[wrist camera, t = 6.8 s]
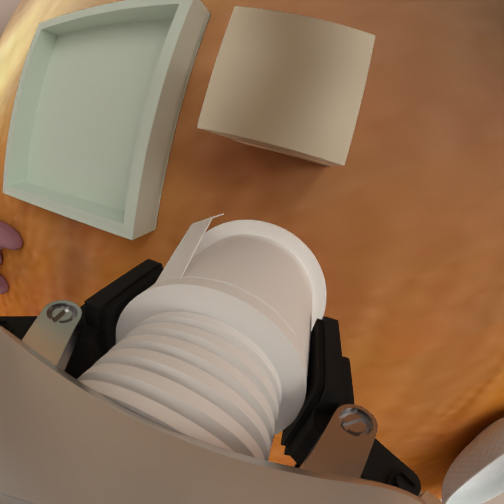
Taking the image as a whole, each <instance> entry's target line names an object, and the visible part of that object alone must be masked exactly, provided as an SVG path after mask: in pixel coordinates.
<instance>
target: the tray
mask: <svg viewBox="0 0 504 504" xmlns="http://www.w3.org/2000/svg"><path fill="white" fill-rule="evenodd" d="M210 15H211V14H210V12H209V11H208V9H207V8H206V7H205V5H204V4H203V3H202V1H201V0H125V1H119V2H114V3H109V4H104V5H99V6H95V7H91V8H87V9H83V10H79V11H76V12H72V13H69V14H65V15H62V16H59V17H56V18H53V19H50V20H47V21H44V22H42V23H39V25H38V28H37V30H36V33H35V35H34V38H33V41H32V43H31V46H30V49H29V52H28V55H27V58H26V61H25V64H24V67H23V71H22V74H21V78H20V81H19V85H18V89H17V93H16V97H15V101H14V106H13V111H12V116H11V121H10V127H9V133H8V140H7V147H6V156H5V166H4V179H3V193H5V194H7V195H10V196H12V197H15V198H17V199H20V200H23V201H25V202H28V203H30V204H33V205H36V206H38V207H41V208H44V209H46V210H49V211H52V212H54V213H57V214H60V215H63V216H65V217H68V218H71V219H73V220H76V221H79V222H82V223H85V224H87V225H90V226H93V227H96V228H98V229H101V230H104V231H107V232H110V233H113V234H116V235H118V236H121V237H124V238H127V239H130V240H134V239H136V238H138V237H140V236H143V235H145V234H147V233H149V232H151V231H153V230H155V229H156V224H157V217H158V211H159V206H160V200H161V194H162V189H163V184H164V179H165V174H166V169H167V164H168V159H169V155H170V150H171V146H172V141H173V137H174V133H175V129H176V125H177V121H178V117H179V113H180V109H181V106H182V102H183V98H184V95H185V91H186V88H187V84H188V81H189V77H190V74H191V71H192V68H193V64H194V61H195V58H196V55H197V52H198V49H199V46H200V43H201V40H202V37H203V34H204V32H205V29H206V26H207V23H208V21H209V18H210Z"/></svg>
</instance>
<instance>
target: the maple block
mask: <svg viewBox="0 0 504 504" xmlns="http://www.w3.org/2000/svg"><path fill="white" fill-rule="evenodd" d="M374 41H375V35H372V34H370V33H367V32H364V31H361V30H357V29H354V28H351V27H348V26H344V25H341V24H337V23H333V22H329V21H326V20H321V19H317V18H313V17H308V16H303V15H298V14H293V13H287V12H281V11H275V10H268V9H260V8H251V7H240V6H235V7H234V10H233V13H232V15H231V18H230V21H229V24H228V26H227V29H226V32H225V35H224V38H223V41H222V44H221V47H220V50H219V53H218V56H217V59H216V62H215V65H214V69H213V72H212V75H211V78H210V82H209V85H208V88H207V92H206V95H205V99H204V102H203V106H202V110H201V113H200V117H199V121H198V125H197V128H199V129H202V130H205V131H209V132H212V133H214V134H217V135H220V136H223V137H226V138H229V139H232V140H235V141H237V142H240V143H243V144H246V145H250V146H254V147H258V148H262V149H266V150H270V151H274V152H277V153H281V154H285V155H288V156H292V157H295V158H299V159H302V160H306V161H309V162H312V163H316V164H319V165H322V166H325V167H332V166H344V165H345V162H346V158H347V155H348V151H349V147H350V144H351V140H352V136H353V132H354V129H355V125H356V121H357V117H358V113H359V109H360V105H361V101H362V96H363V92H364V88H365V83H366V79H367V74H368V70H369V65H370V60H371V56H372V51H373V46H374Z"/></svg>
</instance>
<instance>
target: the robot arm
mask: <svg viewBox="0 0 504 504" xmlns="http://www.w3.org/2000/svg"><path fill="white" fill-rule="evenodd" d="M163 269H164V268H162V264H161V263H158V262H156V261H153V260H150V259H147V260H146V261H144V262H143V263H141V264H140V265H138V266H136V267H135V268H133V269H132V270H130V271H129V272H127V273H126V274H124V275H123V276H121V277H120V278H118V279H117V280H115V281H114V282H112V283H111V284H109V285H108V286H106V287H105V288H103V289H102V290H100V291H99V292H97V293H96V294H94V295H93V296H91V297H90V298H89V299H87V300H86V301H85V304H84V305H83V306H81V307H79V306H78V305H77V304H75V303H73V302H70V301H65V300H60V301H54V302H51V303H49V304H48V305H46V306H45V307H44V309H43V310H42V311H41V313H40V314H39V316H2V317H0V504H444V503H443V502H441V501H440V500H439V499H437V498H436V497H435V496H433V495H432V494H431V493H430V492H428V491H427V490H426V491H424V492H422V491H421V484H420V480H419V478H418V476H417V475H416V474H415V473H414V472H413V471H412V470H411V469H410V468H408V467H407V466H406V465H405V464H404V463H403V462H401V461H400V460H399V459H398V458H397V457H396V456H394V455H393V454H392V453H391V452H390V451H389V450H388V449H387V448H385V447H384V446H383V445H382V444H381V443H380V442H379V441H378V440H376V439H375V436H376V433H377V428H378V425H377V421H376V419H375V417H374V416H373V414H371V413H370V412H369V411H368V410H367V409H365V408H363V407H361V406H358V405H355V404H354V395H353V386H352V377H351V368H350V361H349V358H347V357H343V356H342V351H341V342H340V333H339V324H338V320H335V319H332V318H328V317H325V316H324V317H323V318H322V320H321V319H318V318H317V320H316V322H315V324H314V326H313V329H312V331H311V340H310V354H309V366H308V377H307V389H306V396H305V401H304V404H303V407H302V408H301V410H300V412H299V414H298V415H297V417H296V419H295V420H294V421H293V422H292V423H291V424H290V425H289V426H288V427H287V428H285V429H284V430H283V434H282V439H281V445H284V446H286V447H285V453H284V454H285V455H289V456H291V457H292V458H293V459H294V460H295V462H296V463H295V465H294V466H293V467H292V466H287V465H283V464H278V463H274V462H270V461H266V460H262V459H258V458H254V457H251V456H247V455H243V454H240V453H237V452H233V451H230V450H227V449H224V448H221V447H218V446H215V445H212V444H209V443H206V442H204V441H201V440H198V439H195V438H193V437H190V436H187V435H185V434H182V433H180V432H177V431H175V430H172V429H170V428H168V427H166V426H163V425H161V424H159V423H157V422H154V421H152V420H150V419H148V418H146V417H144V416H142V415H140V414H138V413H136V412H134V411H132V410H130V409H128V408H126V407H124V406H122V405H120V404H118V403H116V402H114V401H113V400H111V399H109V398H107V397H105V396H104V395H102V394H100V393H98V392H97V391H95V390H93V389H91V388H90V387H88V386H86V385H85V384H83V383H82V382H80V381H78V380H77V379H78V378H79V377H80V376H81V375H82V374H83V373H84V372H86V371H87V370H88V369H89V368H91V367H92V366H93V365H94V363H96V362H97V361H98V360H99V359H100V358H101V357H102V356H104V355H105V354H106V353H107V352H108V351H109V350H110V349H111V348H113V347H114V346H115V345H116V326H117V322H118V319H119V317H120V315H121V313H122V311H123V310H124V308H125V307H126V306H127V305H128V303H129V302H130V301H132V300H133V299H134V298H135V297H136V296H138V295H139V294H141V293H142V292H144V291H145V290H147V289H148V288H149V287H151V286H152V285H154V284H155V283H156V281H157V279H158V278H159V276H160V274H161V273H162V271H163Z"/></svg>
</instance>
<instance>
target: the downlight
mask: <svg viewBox="0 0 504 504" xmlns="http://www.w3.org/2000/svg"><path fill="white" fill-rule="evenodd" d="M221 215H224V213H223V214H220V215H217V216H213V217H210V218H207V219H204V220H201V221H198V222H195V223H193V224H191V226H190V228H189V229H188V231H187V232H186V234H185V235H184V237H183V239H182V240H181V242H180V243H179V245H178V247H177V248H176V250H175V251H174V253H173V255H172V256H171V258H170V259H169V261H168V263H167V264H166V266H165V268H164V269H163V271H162V273H161V274H160V276H159V278H158V279H157V281H156V283H155V284H154V285H152V286H151V287H149V288H148V289H147V290H145V291H144V292H142V293H141V294H139V295H138V296H136V297H135V298H134V299H133V300H132V301H130V302H129V303H128V305H127V306H126V307H125V308H124V310H123V311H122V313H121V315H120V317H119V319H118V322H117V326H116V345H115V346H114V347H113V348H111V349H110V350H109V351H108V352H107V353H106V354H105V355H104V356H102V357H101V358H100V359H99V360H98V361H97V362H96V363H94V365H93V366H92V367H91V368H89V369H88V370H87V371H86V372H84V373H83V374H82V375H81V376H80V377H79V378H78V379H77V380H78V381H80V382H82V383H83V384H85V385H86V386H88V387H90V388H91V389H93V390H95V391H97V392H98V393H100V394H102V395H104V396H105V397H107V398H109V399H111V400H113V401H114V402H116V403H118V404H120V405H122V406H124V407H126V408H128V409H130V410H132V411H134V412H136V413H138V414H140V415H142V416H144V417H146V418H148V419H150V420H152V421H154V422H157V423H159V424H161V425H163V426H166V427H168V428H170V429H172V430H175V431H177V432H180V433H182V434H185V435H187V436H190V437H193V438H195V439H198V440H201V441H204V442H206V443H209V444H212V445H215V446H218V447H221V448H224V449H227V450H230V451H233V452H237V453H240V454H243V455H247V456H251V457H254V458H258V459H262V460H266V461H268V459H269V455H270V449H271V445H272V442H273V438H274V435H276V434H278V433H279V432H281V431H282V430H284V429H285V428H287V427H288V426H289V425H290V424H291V423H292V422H293V421H294V420H295V419H296V417H297V415H298V414H299V412H300V410H301V408H302V407H303V404H304V401H305V396H306V389H307V377H308V366H309V354H310V340H311V331H312V329H313V326H314V324H315V322H316V320H317V318H318V319H321V320H322V318H323V315H324V311H325V307H326V283H325V279H324V275H323V272H322V269H321V267H320V265H319V263H318V261H317V259H316V257H315V256H314V254H313V253H312V252H311V250H310V249H309V248H308V247H307V246H306V244H305V243H303V242H302V241H301V240H300V239H299V238H298V237H296V236H295V235H294V234H292V233H291V232H289V231H288V230H286V229H284V228H282V227H280V226H277V225H275V224H272V223H269V222H265V221H260V220H249V219H245V220H235V221H230V222H226V223H223V224H220V225H218V226H216V227H214V228H212V229H210V230H208V231H207V232H206V230H207V228H208V226H209V224H210V222H211V220H212V219H213V218H215V217H218V216H221Z"/></svg>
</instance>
